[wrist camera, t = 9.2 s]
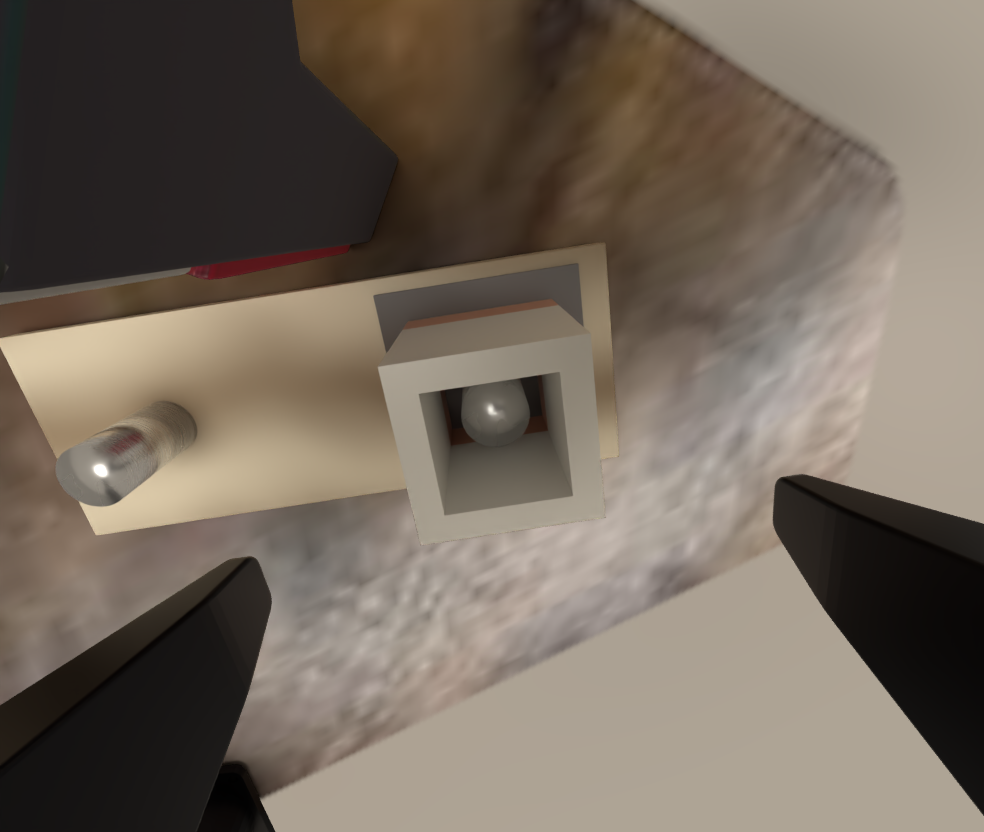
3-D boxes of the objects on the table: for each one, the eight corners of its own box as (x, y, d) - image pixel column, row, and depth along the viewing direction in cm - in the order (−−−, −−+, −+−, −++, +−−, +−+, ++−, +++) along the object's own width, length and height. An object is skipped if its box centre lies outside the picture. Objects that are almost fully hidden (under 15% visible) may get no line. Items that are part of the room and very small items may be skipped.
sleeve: (565, 431, 19) (605, 517, 13) (435, 451, 19) (420, 545, 13) (551, 298, 17) (590, 333, 12) (407, 321, 17) (377, 366, 12)
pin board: (612, 446, 21) (620, 458, 19) (112, 521, 21) (92, 538, 20) (598, 242, 18) (607, 243, 17) (20, 333, 18) (-9, 340, 17)
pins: (521, 398, 19) (534, 441, 15) (153, 454, 19) (74, 511, 15) (514, 346, 18) (525, 377, 14) (131, 405, 18) (43, 451, 14)
